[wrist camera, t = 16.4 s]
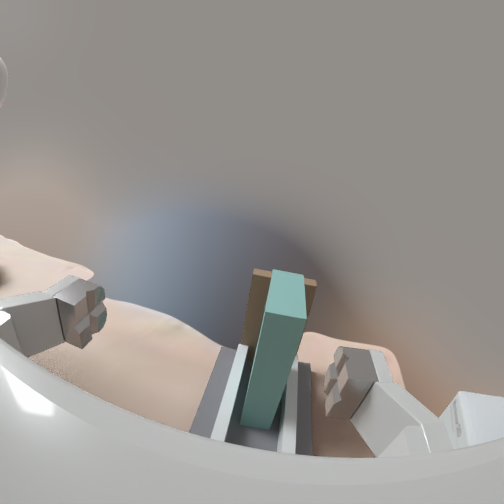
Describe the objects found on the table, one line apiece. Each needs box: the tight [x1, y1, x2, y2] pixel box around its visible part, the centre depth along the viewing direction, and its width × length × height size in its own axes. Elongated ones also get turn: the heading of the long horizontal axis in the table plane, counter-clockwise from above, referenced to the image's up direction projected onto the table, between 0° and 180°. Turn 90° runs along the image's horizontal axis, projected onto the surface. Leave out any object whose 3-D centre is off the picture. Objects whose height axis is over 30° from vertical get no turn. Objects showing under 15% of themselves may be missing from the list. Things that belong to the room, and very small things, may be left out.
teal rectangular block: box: [240, 270, 307, 430], centre depth 26 cm, size 3×8×14 cm, turn 172°
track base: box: [189, 269, 317, 456], centre depth 26 cm, size 12×18×13 cm, turn 172°
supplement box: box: [439, 391, 504, 449], centre depth 14 cm, size 7×7×13 cm
